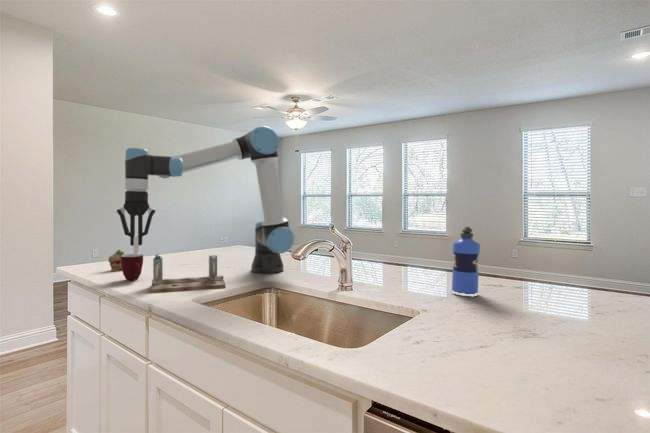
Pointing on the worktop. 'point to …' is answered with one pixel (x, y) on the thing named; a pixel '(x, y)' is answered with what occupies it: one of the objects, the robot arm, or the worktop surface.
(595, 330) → the worktop surface
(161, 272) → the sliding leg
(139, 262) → the mug
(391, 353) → the worktop surface
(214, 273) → the fixed leg
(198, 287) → the brown wooden board
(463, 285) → the water bottle
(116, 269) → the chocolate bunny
